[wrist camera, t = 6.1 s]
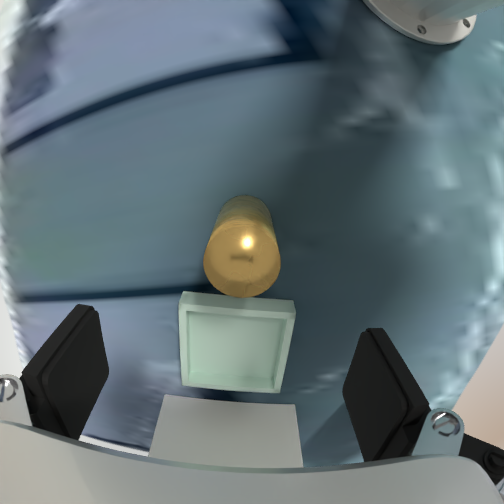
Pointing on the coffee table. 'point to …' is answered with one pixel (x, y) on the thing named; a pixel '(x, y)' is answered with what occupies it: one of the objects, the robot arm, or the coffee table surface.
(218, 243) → the roller
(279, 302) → the tray
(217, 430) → the white box grey panel
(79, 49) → the coffee table surface
